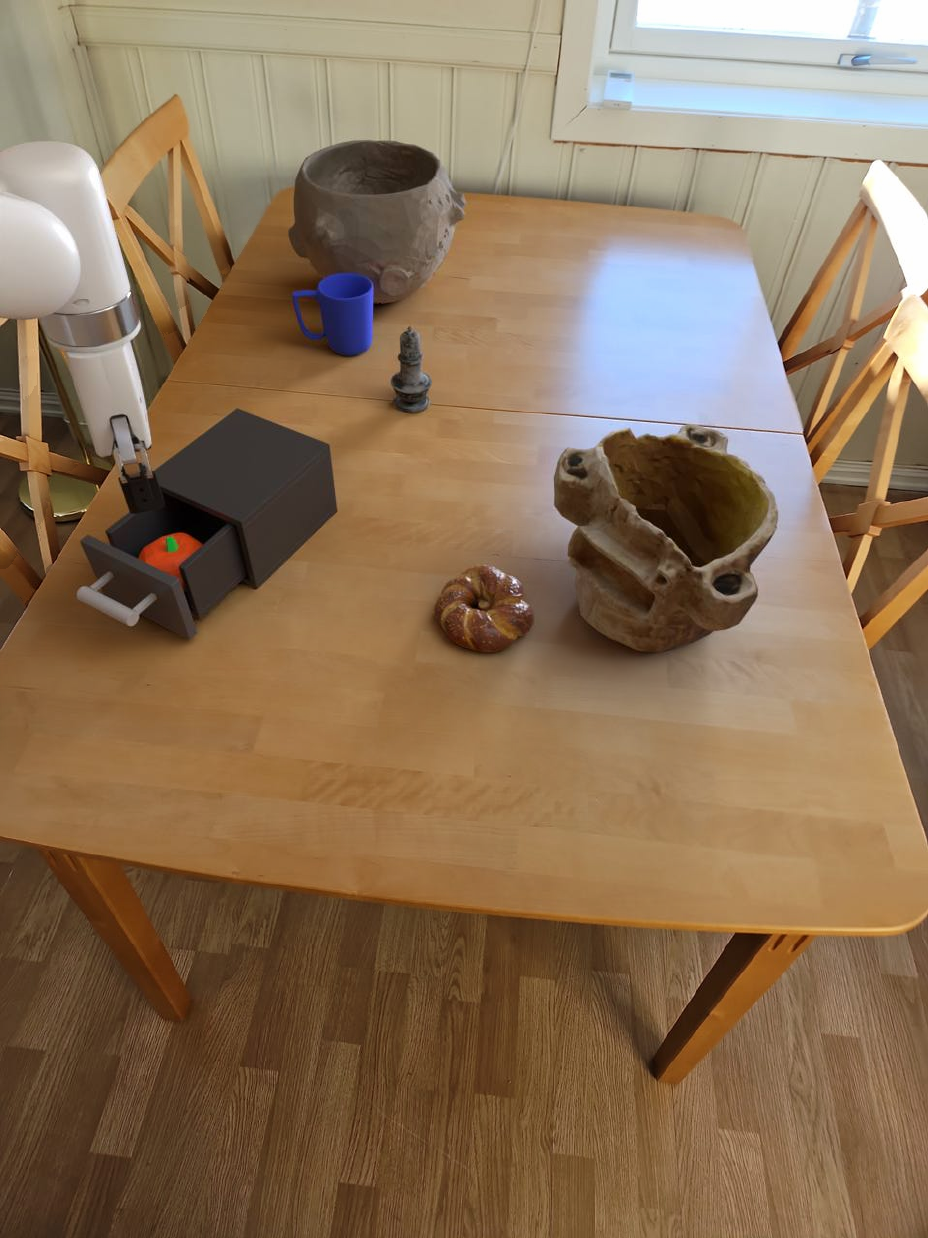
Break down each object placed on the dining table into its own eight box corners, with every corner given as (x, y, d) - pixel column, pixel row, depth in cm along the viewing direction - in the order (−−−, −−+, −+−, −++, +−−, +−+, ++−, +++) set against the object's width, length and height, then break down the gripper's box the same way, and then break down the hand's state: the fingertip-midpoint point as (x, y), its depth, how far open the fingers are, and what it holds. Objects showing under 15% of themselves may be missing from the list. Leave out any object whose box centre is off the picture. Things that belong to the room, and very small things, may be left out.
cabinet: (257, 589, 94) (241, 522, 86) (166, 546, 98) (143, 478, 91) (337, 511, 103) (329, 444, 95) (251, 474, 107) (237, 407, 100)
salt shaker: (437, 395, 121) (437, 319, 112) (423, 417, 117) (422, 340, 108) (400, 387, 122) (397, 311, 113) (385, 409, 118) (381, 332, 109)
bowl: (462, 332, 133) (466, 203, 118) (285, 326, 132) (266, 196, 117) (464, 255, 151) (467, 134, 136) (308, 250, 150) (294, 128, 135)
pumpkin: (127, 586, 91) (111, 542, 86) (186, 550, 95) (174, 506, 90) (168, 617, 88) (154, 573, 83) (227, 578, 92) (217, 534, 87)
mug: (299, 334, 131) (291, 273, 123) (375, 332, 132) (372, 271, 124) (298, 362, 125) (290, 300, 118) (377, 359, 127) (374, 298, 119)
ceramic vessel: (865, 568, 87) (836, 472, 66) (698, 726, 91) (622, 683, 71) (714, 452, 99) (649, 340, 78) (573, 596, 103) (477, 527, 83)
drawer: (161, 667, 85) (139, 614, 79) (73, 620, 89) (46, 565, 83) (276, 558, 96) (264, 503, 90) (193, 520, 100) (177, 465, 94)
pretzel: (431, 579, 96) (431, 556, 93) (524, 576, 97) (527, 553, 94) (437, 659, 88) (437, 637, 85) (537, 655, 89) (541, 633, 86)
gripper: (36, 274, 72) (93, 436, 85) (46, 374, 62) (110, 543, 74) (125, 263, 74) (168, 423, 87) (149, 358, 64) (194, 525, 76)
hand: (141, 478), depth 81 cm, fingers open, 9 cm apart
